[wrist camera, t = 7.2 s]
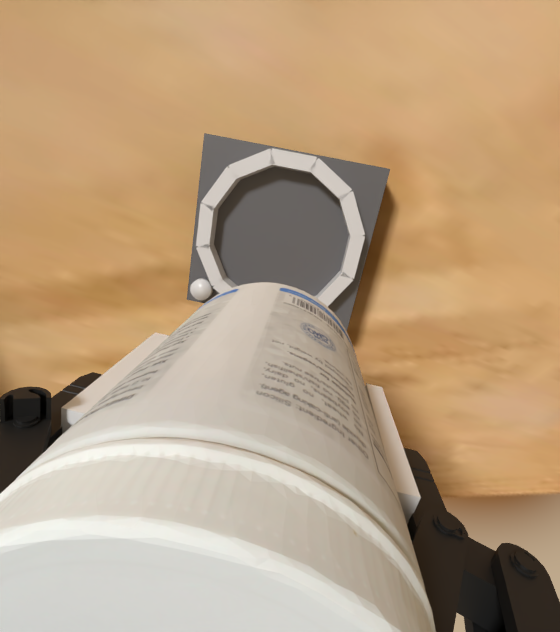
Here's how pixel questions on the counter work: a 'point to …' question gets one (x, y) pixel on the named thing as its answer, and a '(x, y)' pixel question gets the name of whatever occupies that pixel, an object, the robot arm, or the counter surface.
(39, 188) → the counter surface
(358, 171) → the grey square ring block
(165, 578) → the supplement tub
